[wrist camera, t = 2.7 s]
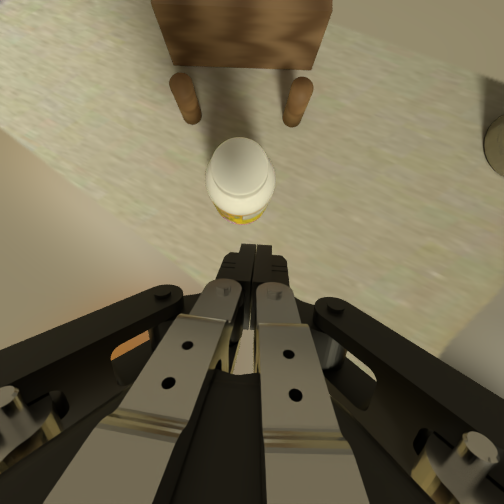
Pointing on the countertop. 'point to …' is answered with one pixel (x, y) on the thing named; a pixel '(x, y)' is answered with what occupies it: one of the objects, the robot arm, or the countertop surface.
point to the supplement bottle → (240, 180)
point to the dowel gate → (192, 112)
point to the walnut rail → (243, 32)
